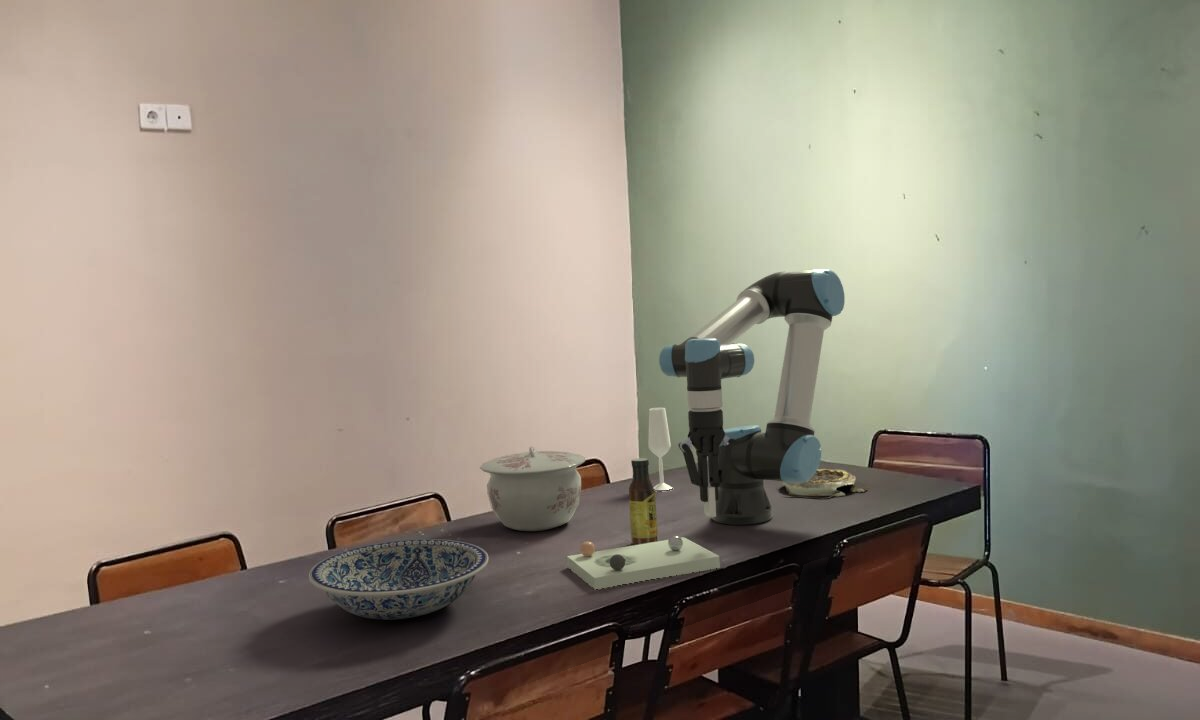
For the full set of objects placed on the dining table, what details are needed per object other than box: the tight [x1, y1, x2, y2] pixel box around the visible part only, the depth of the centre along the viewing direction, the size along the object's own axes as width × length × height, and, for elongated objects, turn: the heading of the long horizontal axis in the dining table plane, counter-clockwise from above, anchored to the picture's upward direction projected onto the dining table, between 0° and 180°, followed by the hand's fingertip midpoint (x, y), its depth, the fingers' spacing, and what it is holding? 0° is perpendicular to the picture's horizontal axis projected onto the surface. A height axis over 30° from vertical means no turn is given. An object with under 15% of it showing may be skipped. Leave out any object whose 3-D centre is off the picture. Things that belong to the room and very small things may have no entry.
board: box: [566, 536, 721, 591], centre depth 204 cm, size 28×18×2 cm, turn 110°
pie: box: [781, 468, 870, 500], centre depth 270 cm, size 28×27×5 cm
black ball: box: [610, 554, 625, 570], centre depth 195 cm, size 3×3×3 cm
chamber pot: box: [479, 446, 586, 532], centre depth 248 cm, size 28×28×21 cm
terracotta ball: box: [580, 540, 596, 556], centre depth 207 cm, size 3×3×3 cm
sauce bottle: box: [628, 457, 658, 545], centre depth 223 cm, size 7×6×20 cm
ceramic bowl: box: [308, 538, 489, 621], centre depth 186 cm, size 34×34×10 cm
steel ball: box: [668, 535, 683, 551], centre depth 207 cm, size 3×3×3 cm
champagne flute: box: [647, 407, 673, 490], centre depth 281 cm, size 7×7×24 cm
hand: (710, 515), depth 209 cm, fingers closed
